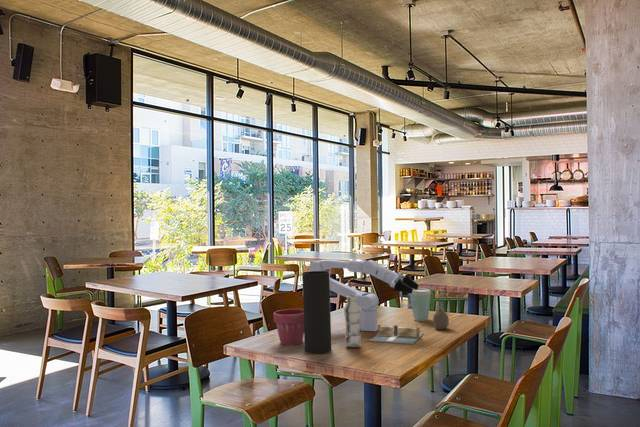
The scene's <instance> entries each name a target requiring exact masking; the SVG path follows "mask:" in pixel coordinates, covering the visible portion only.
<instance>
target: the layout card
mask: <svg viewBox="0 0 640 427" xmlns="http://www.w3.org/2000/svg"><path fill="white" fill-rule="evenodd" d="M423 335H424V333H423V332H420V337H416V336H400V335H398V336H394V330H393V335H385V334H381V335H378V333H377V334H376V335H374V336H373V337H372V338H370V339H369V340H368V343H369V342H370V343H374V342H375V343H383V344H384V343H386V344H396V345H397V344H399V345H414V344H415V343H416V342H417V341H418V340H419V339H420V338H421V337H422V336H423Z"/></svg>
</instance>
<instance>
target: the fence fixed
mask: <svg viewBox="0 0 640 427" xmlns="http://www.w3.org/2000/svg"><path fill="white" fill-rule="evenodd" d="M377 327H378V330H377V334H378V335H381V334H385V335H393V331H394V336H398V327H399V326H398V324H397V325H396V324H394V325H393V326H386V325H382V324H377Z"/></svg>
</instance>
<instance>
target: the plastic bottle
mask: <svg viewBox="0 0 640 427" xmlns="http://www.w3.org/2000/svg"><path fill="white" fill-rule="evenodd" d="M356 301H357V299H356V296H355V295H349V296H347V298H346V304H345V305H344V307H343V313H344V321H345V336H344V343H345V346H346V347H347V348H352V349H353V348H359V347H361V344H362V336H361V330H360V329H359V317H360V309H361V308H360V307H359V306H358V304H357V303H356Z"/></svg>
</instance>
